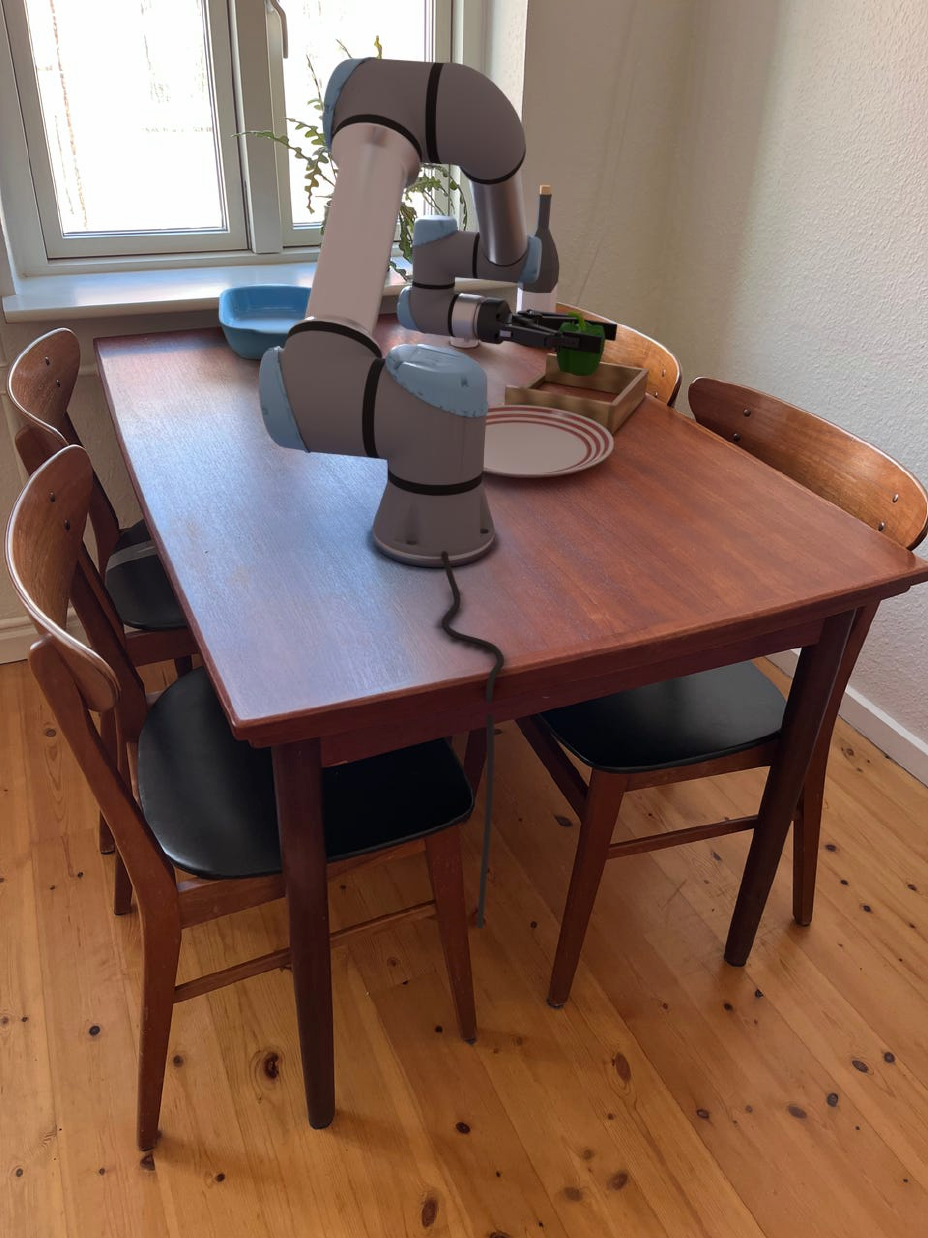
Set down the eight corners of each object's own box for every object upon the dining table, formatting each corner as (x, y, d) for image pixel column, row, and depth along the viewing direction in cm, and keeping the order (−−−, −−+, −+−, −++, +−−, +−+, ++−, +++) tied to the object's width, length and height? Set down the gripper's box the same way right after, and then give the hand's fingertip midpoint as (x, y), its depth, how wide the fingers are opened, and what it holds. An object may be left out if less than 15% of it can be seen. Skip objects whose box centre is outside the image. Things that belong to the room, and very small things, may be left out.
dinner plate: (519, 509, 126) (520, 486, 125) (395, 447, 144) (395, 426, 142) (648, 462, 142) (651, 442, 140) (523, 411, 159) (524, 392, 158)
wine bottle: (516, 334, 200) (526, 181, 184) (553, 337, 200) (567, 184, 184) (512, 344, 194) (523, 186, 178) (551, 347, 193) (565, 189, 177)
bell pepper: (611, 373, 161) (619, 314, 155) (583, 383, 155) (590, 322, 150) (572, 362, 165) (578, 304, 160) (543, 371, 160) (549, 311, 155)
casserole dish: (343, 365, 177) (342, 327, 173) (222, 369, 172) (218, 329, 168) (325, 315, 207) (323, 282, 203) (221, 317, 202) (218, 282, 199)
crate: (497, 413, 158) (499, 384, 155) (541, 378, 175) (543, 352, 173) (611, 435, 152) (615, 405, 149) (645, 396, 169) (649, 369, 166)
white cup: (487, 343, 194) (488, 308, 190) (469, 350, 189) (471, 315, 185) (459, 337, 197) (460, 303, 193) (441, 344, 192) (442, 309, 188)
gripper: (503, 327, 173) (622, 346, 166) (457, 355, 156) (587, 377, 149) (506, 285, 169) (628, 302, 162) (459, 309, 152) (592, 330, 145)
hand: (608, 338), depth 155 cm, fingers closed on bell pepper, 8 cm apart
